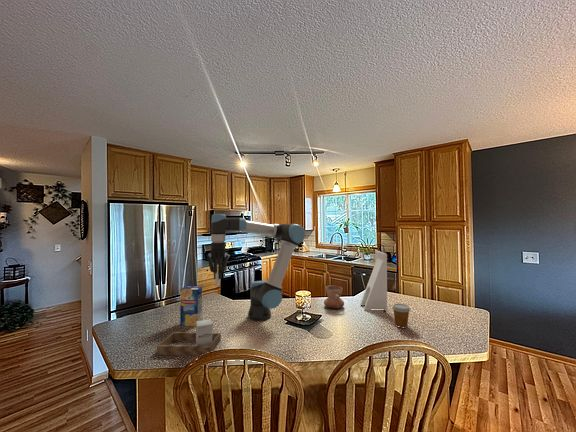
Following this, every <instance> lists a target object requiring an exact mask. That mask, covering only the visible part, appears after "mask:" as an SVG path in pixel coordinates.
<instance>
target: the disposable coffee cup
mask: <svg viewBox="0 0 576 432" xmlns="http://www.w3.org/2000/svg"><path fill="white" fill-rule="evenodd" d="M392 309H393V315H394V322H395V323H394V325H395V326H396V325H397V326H400V327H406V326H407V327H408V322H409V315H410V310H411V309H410V306H409V305H407V304H404V303H394V304H393V305H392Z"/></svg>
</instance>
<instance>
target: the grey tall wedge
mask: <svg viewBox="0 0 576 432" xmlns="http://www.w3.org/2000/svg"><path fill="white" fill-rule="evenodd" d="M359 303H360V304H359V306H360V305H365V306H363V309H364V310H363V311H372V310H371V309H384V310H385V311H387V312H388V254H387V253H386V252H382V251H379V250H378V249H377V250H376V249H375V250H374V265H373V268H372V272H371V274H370V277H369V280H368V282H367V285H366V287H365V290H364V293H363V295H362V298H361V300H360V302H359Z"/></svg>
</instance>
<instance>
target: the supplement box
mask: <svg viewBox="0 0 576 432" xmlns="http://www.w3.org/2000/svg"><path fill="white" fill-rule="evenodd" d="M195 332H196V341H195V346H210V344H211V343H212V342H213V341H212V333H213V322H212V319H211V318H209V319H202V320H201V321H196V326H195Z"/></svg>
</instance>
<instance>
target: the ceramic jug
mask: <svg viewBox="0 0 576 432" xmlns="http://www.w3.org/2000/svg"><path fill="white" fill-rule="evenodd" d="M325 293H326V295H327V298H325V299H324V301H323V304H324V305H325V307H326V308H328V309H334V310H335V309H336V310H337V309H341V308H343V307H344V306H345V302H344V300H343V299H342V298H341V297H342V293H343V287H341V286H338V285H327V286H325Z"/></svg>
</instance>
